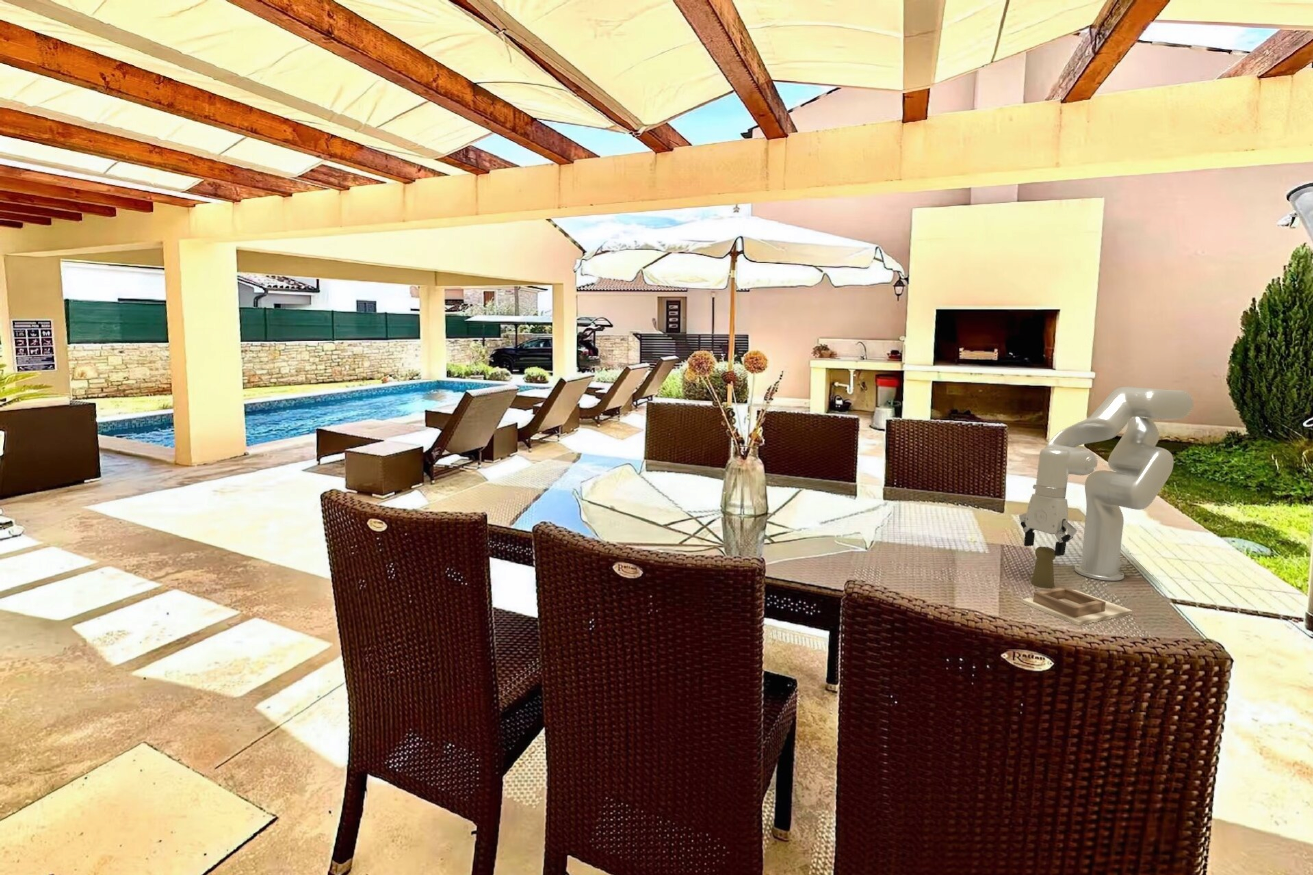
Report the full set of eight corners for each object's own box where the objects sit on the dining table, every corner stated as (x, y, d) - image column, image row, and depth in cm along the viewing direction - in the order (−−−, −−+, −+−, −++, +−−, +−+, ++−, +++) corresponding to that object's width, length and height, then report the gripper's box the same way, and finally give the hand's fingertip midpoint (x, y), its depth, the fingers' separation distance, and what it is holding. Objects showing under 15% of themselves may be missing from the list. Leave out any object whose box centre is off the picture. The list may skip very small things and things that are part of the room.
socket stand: (1073, 592, 190) (1074, 580, 190) (1131, 614, 176) (1133, 601, 175) (1021, 602, 183) (1023, 590, 182) (1078, 625, 168) (1079, 612, 167)
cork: (1028, 584, 196) (1032, 548, 195) (1032, 579, 201) (1036, 543, 199) (1052, 589, 193) (1056, 552, 191) (1056, 583, 197) (1059, 547, 196)
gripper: (1014, 486, 199) (1008, 543, 201) (1069, 499, 183) (1062, 560, 186) (1032, 485, 202) (1026, 541, 204) (1088, 497, 186) (1081, 558, 189)
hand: (1043, 550), depth 195 cm, fingers open, 9 cm apart
